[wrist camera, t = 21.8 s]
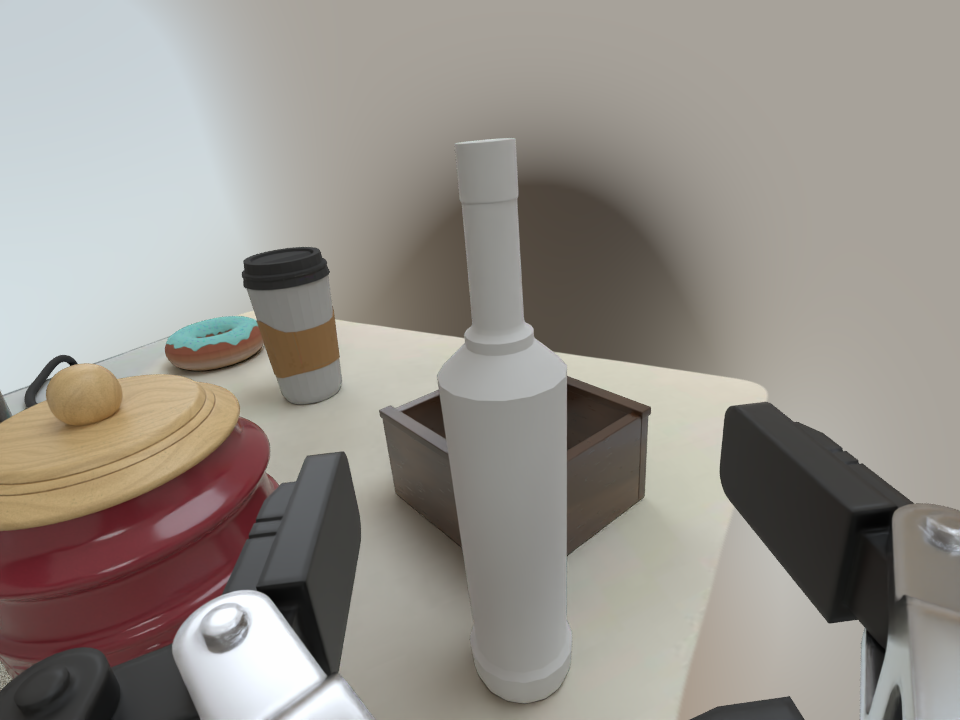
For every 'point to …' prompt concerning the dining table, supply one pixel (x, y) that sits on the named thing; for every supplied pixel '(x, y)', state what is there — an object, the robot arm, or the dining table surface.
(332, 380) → the coffee cup
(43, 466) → the kitchen canister
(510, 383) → the bottle
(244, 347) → the donut
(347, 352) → the dining table surface
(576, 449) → the crate
